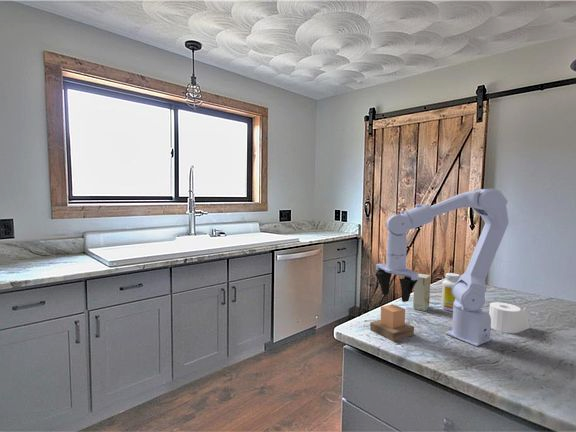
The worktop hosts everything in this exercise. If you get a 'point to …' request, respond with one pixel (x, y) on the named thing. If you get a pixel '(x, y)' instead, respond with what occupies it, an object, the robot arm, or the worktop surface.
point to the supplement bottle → (448, 291)
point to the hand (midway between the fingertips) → (395, 297)
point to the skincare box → (422, 292)
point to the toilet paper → (508, 318)
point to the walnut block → (391, 330)
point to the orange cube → (393, 316)
